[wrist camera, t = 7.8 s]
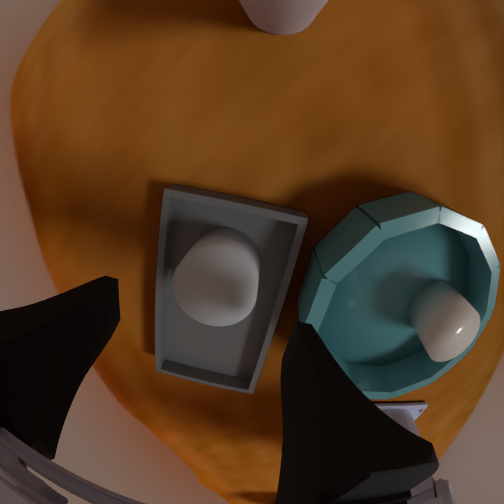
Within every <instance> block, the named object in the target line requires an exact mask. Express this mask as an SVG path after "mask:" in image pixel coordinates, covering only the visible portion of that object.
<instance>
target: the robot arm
mask: <svg viewBox="0 0 504 504" xmlns="http://www.w3.org/2000/svg"><path fill="white" fill-rule="evenodd" d="M119 321H120V307H119V289H118V279H115V278H112V277H108V276H103V277H100V278H98V279H95V280H92V281H90V282H88V283H85V284H83V285H81V286H78V287H76V288H74V289H71V290H69V291H66V292H64V293H61V294H59V295H56V296H54V297H51V298H48V299H46V300H43V301H40V302H38V303H34V304H31V305H27V306H23V307H19V308H14V309H9V310H4V311H0V504H67V503H68V500H67V498H65V497H64V496H62V495H60V494H59V493H58V492H56V491H55V490H54V489H52V488H51V487H50V486H48V485H47V484H46V483H45V482H44V481H43V480H41V479H40V478H38V477H37V476H35V475H34V474H33V473H31V472H30V471H29V470H28V469H27V466H28V467H30V468H31V469H33V470H34V471H35V472H37V473H39V474H40V475H42V476H43V477H45V478H46V479H48V480H50V481H51V482H53V483H54V484H56V485H58V486H60V487H61V488H63V489H65V490H67V491H68V492H70V493H72V494H74V495H76V496H78V497H80V498H82V499H84V500H86V501H88V502H90V503H92V504H145V503H141V502H139V501H136V500H133V499H130V498H127V497H124V496H122V495H119V494H117V493H114V492H112V491H109V490H107V489H105V488H103V487H100V486H98V485H96V484H94V483H92V482H90V481H87V480H85V479H83V478H81V477H79V476H77V475H75V474H74V473H72V472H70V471H68V470H66V469H64V468H63V467H61V466H59V465H57V464H56V463H54V462H52V461H51V460H52V459H54V458H55V454H56V449H57V445H58V441H59V437H60V433H61V431H62V428H63V425H64V422H65V419H66V416H67V413H68V411H69V408H70V406H71V404H72V401H73V399H74V397H75V395H76V392H77V390H78V388H79V386H80V384H81V382H82V380H83V379H84V377H85V375H86V374H87V372H88V371H89V369H90V368H91V366H92V365H93V363H94V362H95V360H96V359H97V357H98V356H99V355H100V353H101V352H102V350H103V349H104V347H105V346H106V344H107V343H108V341H109V340H110V338H111V337H112V335H113V333H114V331H115V329H116V327H117V325H118V323H119ZM281 398H282V415H283V446H282V458H281V468H280V477H279V484H278V491H277V498H276V503H275V504H456V503H455V499H454V495H453V492H452V489H451V486H450V484H449V481H448V480H443V479H442V478H441V479H439V480H437V481H435V480H434V479H433V477H432V475H433V474H434V473H435V471H437V469H438V467H439V463H438V459H437V456H436V453H435V450H434V447H433V445H432V443H430V442H428V441H426V440H425V439H423V438H421V437H420V436H419V433H418V430H417V427H416V424H415V420H416V419H417V417H418V416H419V415H420V414H421V413H422V412H423V411H424V410H425V409H426V408H427V406H428V405H427V403H426V402H419V403H373V402H372V401H370V400H369V399H368V398H367V397H366V396H365V395H364V394H363V393H362V391H361V390H360V389H359V388H358V387H357V386H356V385H355V384H354V383H353V382H352V381H351V379H350V378H349V377H348V376H347V374H346V373H345V372H344V371H343V369H342V368H341V367H340V365H339V364H338V363H337V361H336V360H335V359H334V357H333V356H332V354H331V353H330V351H329V350H328V348H327V347H326V345H325V344H324V342H323V341H322V339H321V338H320V336H319V335H318V333H317V332H316V330H315V328H314V327H313V325H312V324H309V323H303V322H298V321H296V323H295V326H294V329H293V332H292V334H291V337H290V339H289V342H288V345H287V347H286V350H285V352H284V355H283V358H282V366H281ZM26 465H27V466H26Z"/></svg>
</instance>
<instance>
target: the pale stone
mask: <svg viewBox="0 0 504 504" xmlns="http://www.w3.org/2000/svg"><path fill="white" fill-rule="evenodd" d="M408 319H409V322H410V324H411V325H412V327H413V329H414V330H415V332H416V334H417V335H418V337H419V339H420V341H421V342H422V344H423V346H424V348H425V349H426V351H427V353H428V355H429V356H430V358H431V359H432V360H434V361H436V362H444V361H448V360H451V359H453V358H455V357H456V356H458V355H459V354H461V353H462V352H463V351H464V350H465V349H466V348H467V347H468V346H469V345H470V344H471V343H472V341H473V340H474V338H475V336H476V335H477V332H478V330H479V327H480V316H479V314H478V312H477V311H476V310H475V309H474V308H473V307H472V306H471V304H470V303H469V302H468V301H467V300H466V299H465V298H464V297H463V296H462V295H461V294H460V293H459V292H458V291H457V290H456V288H455V287H454V286H453V285H452V284H451V283H449V282H448V281H444V280H437V281H434V282H431V283H429V284H428V285H426V286H425V287H423V288H422V289H421V290H420V291H419V292H418V293H417V294H416V296H415V297H414V299H413V300H412V302H411V304H410V307H409V311H408Z"/></svg>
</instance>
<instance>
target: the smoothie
mask: <svg viewBox="0 0 504 504" xmlns="http://www.w3.org/2000/svg"><path fill="white" fill-rule="evenodd" d="M327 1H328V0H239V2H240V3H241V5H242V7H243V8H244V10H245V12H246V13H247V15H248V17H249V19H250V20H251V22H252V23H253V24H254V25H255V26H257V27H258V28H259V29H261V30H263V31H265V32H268V33H272V34H277V35H289V34H294V33H298V32H300V31H302V30H304V29H305V28H307V27H308V26H309V25H310V24H311V22H312V21H313V20H314V18H315V17H316V16H317V14H318V13H319V12H320V10H321V9H322V8H323V6H324V5H325V4H326V3H327Z"/></svg>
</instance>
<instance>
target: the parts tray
mask: <svg viewBox="0 0 504 504" xmlns="http://www.w3.org/2000/svg"><path fill="white" fill-rule="evenodd" d="M307 222H308V217H307V215H306V212H305V211H301V210H297V209H293V208H288V207H284V206H280V205H275V204H271V203H267V202H262V201H258V200H253V199H248V198H244V197H239V196H234V195H229V194H224V193H219V192H214V191H209V190H204V189H199V188H194V187H188V186H183V185H177V184H172V185H170V186H168V187H166V188H164V192H163V200H162V209H161V219H160V229H159V241H158V255H157V271H156V294H155V368H156V371H158V372H161V373H165V374H168V375H171V376H175V377H179V378H182V379H186V380H190V381H194V382H198V383H202V384H206V385H210V386H215V387H219V388H224V389H229V390H234V391H239V392H244V393H250V394H253V392H254V389H255V386H256V383H257V380H258V378H259V375H260V372H261V369H262V366H263V363H264V361H265V358H266V355H267V352H268V349H269V346H270V343H271V340H272V337H273V334H274V331H275V328H276V325H277V322H278V319H279V316H280V313H281V309H282V306H283V303H284V300H285V297H286V294H287V290H288V287H289V284H290V281H291V277H292V274H293V271H294V267H295V264H296V261H297V257H298V254H299V250H300V247H301V243H302V240H303V236H304V233H305V229H306V226H307ZM218 227H229V228H234V229H237V230H239V231H241V232H243V233H245V234H246V235H247V236H249V237H250V238H251V239H252V241H253V242H254V243H255V245H256V246H257V248H258V251H259V254H260V272H259V281H258V290H257V298H256V303H255V306H254V307H253V309H252V311H251V312H250V314H249V315H248V316H247V317H245V318H244V319H243V320H241V321H239V322H238V323H235V324H232V325H228V326H211V325H206V324H203V323H200V322H198V321H196V320H194V319H193V318H191V317H190V316H188V315H187V314H186V313H185V312H184V311H183V310H182V309H181V307H180V306H179V305H178V303H177V301H176V299H175V297H174V294H173V289H172V280H173V275H174V272H175V270H176V268H177V267H178V265H179V264H180V263H181V261H182V260H183V258H184V257H185V256H186V254H187V253H188V251H189V250H190V249H191V247H192V246H193V245H194V243H195V242H196V240H197V239H198V238H199V237H200V236H201V235H202V234H203V233H205V232H206V231H208V230H211V229H213V228H218Z"/></svg>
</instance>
